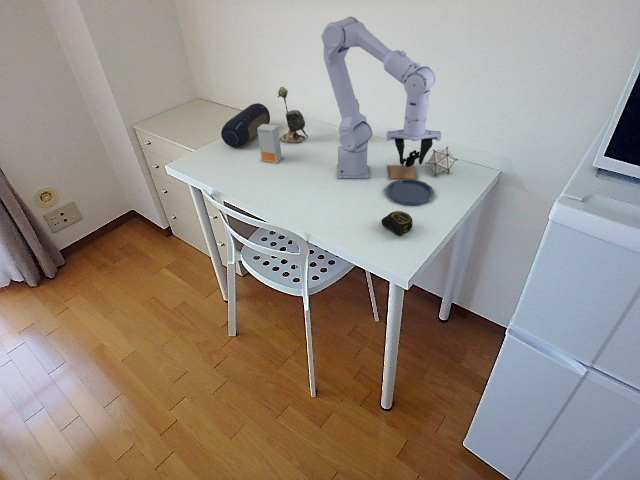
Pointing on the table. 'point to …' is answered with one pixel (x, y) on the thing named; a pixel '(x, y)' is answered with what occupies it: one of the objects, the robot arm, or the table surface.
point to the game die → (441, 161)
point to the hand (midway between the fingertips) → (410, 162)
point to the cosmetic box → (269, 143)
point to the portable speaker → (245, 125)
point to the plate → (409, 192)
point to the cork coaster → (402, 172)
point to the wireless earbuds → (411, 159)
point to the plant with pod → (292, 122)
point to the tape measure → (398, 222)
